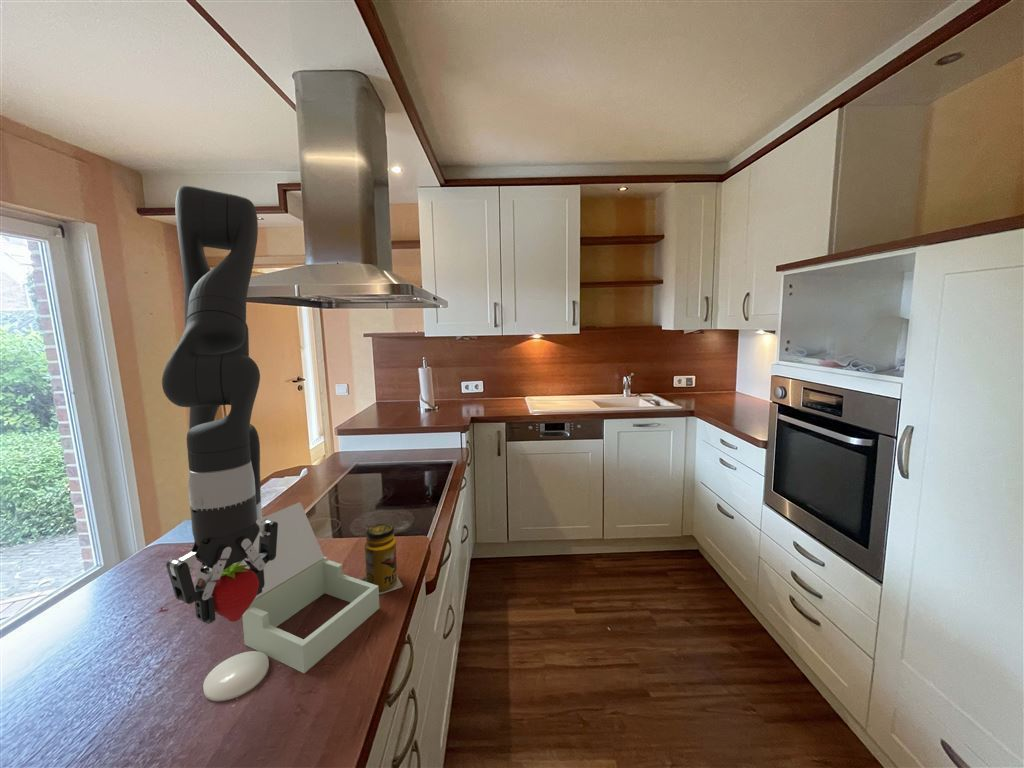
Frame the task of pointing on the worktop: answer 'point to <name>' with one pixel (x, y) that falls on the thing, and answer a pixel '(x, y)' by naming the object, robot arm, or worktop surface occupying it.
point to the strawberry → (235, 591)
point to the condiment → (381, 558)
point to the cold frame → (302, 595)
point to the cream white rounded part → (236, 676)
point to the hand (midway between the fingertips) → (232, 605)
